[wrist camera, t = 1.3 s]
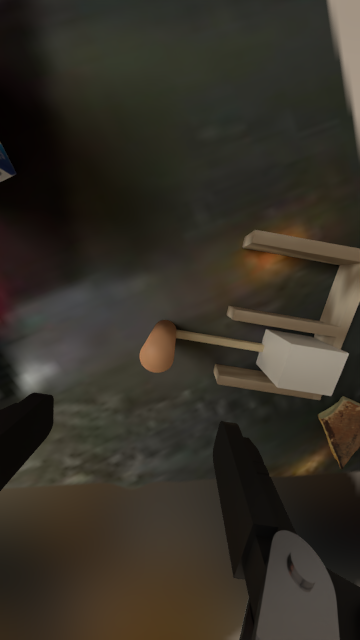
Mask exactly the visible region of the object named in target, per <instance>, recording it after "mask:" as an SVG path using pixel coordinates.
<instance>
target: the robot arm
mask: <svg viewBox="0 0 360 640" xmlns="http://www.w3.org/2000/svg"><path fill="white" fill-rule="evenodd" d="M53 403H54V399H53V396H52V395H48V394H41V393H32V394H30V395H29V396H27V397H26V398H25V399H23V400H22V401H21V402H19V403H14V404H12V405H10V406H8V407H6V408H3V409H1V410H0V491H1V490H2V488H3V487H4V486H5V485H6V484H7V483H8V482H9V480H10V479H11V478H12V477H13V476H14V475H15V473H16V472H17V471H18V470H19V469H20V468H21V467H22V465H23V464H24V463H25V462H26V461H27V460H28V458H29V457H30V456H31V455H32V454H33V453H34V452H35V450H36V449H37V448H38V447H39V446H40V445H41V443H42V442H43V441H44V440H45V439H46V438H47V436H48V435H49V433H50V431H51V429H52V426H53ZM213 463H214V469H215V475H216V480H217V486H218V492H219V497H220V503H221V509H222V514H223V520H224V526H225V532H226V537H227V543H228V549H229V554H230V560H231V565H232V571H233V577H234V578H237V579H245V581H246V585H247V590H248V595H249V599H248V603H247V606H246V611H245V616H244V620H243V625H242V629H241V634H240V639H239V640H360V587H359V586H357V585H355V584H353V583H351V582H350V581H348V580H346V579H344V578H343V577H341V576H339V575H337V574H335V573H334V572H332V571H331V570H329V569H328V568H326V567H325V566H324V564H323V563H322V561H321V560H320V558H319V557H318V555H317V554H316V553H315V551H314V550H313V549H312V548H311V547H310V546H309V545H308V544H307V543H306V542H305V541H304V540H303V539H302V538H300V537H299V536H298V535H297V534H296V532H295V530H294V528H293V526H292V523H291V521H290V519H289V517H288V515H287V512H286V510H285V508H284V506H283V504H282V501H281V499H280V497H279V495H278V493H277V490H276V488H275V486H274V484H273V481H272V479H271V477H269V473H268V470H267V468H266V466H265V465H264V462H263V459H262V457H261V455H260V453H259V451H258V449H257V448H256V446H255V445H254V444H253V443H252V442H251V440H250V439H249V438H244V437H243V436H242V433H241V431H240V428H239V426H238V424H236V423H229V422H223V421H221V422H220V424H219V428H218V432H217V436H216V439H215V443H214V448H213Z"/></svg>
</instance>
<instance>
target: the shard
mask: <svg viewBox="0 0 360 640" xmlns="http://www.w3.org/2000/svg"><path fill="white" fill-rule="evenodd" d="M318 418H319V420H320V422H321V424H322V426H323V428H324V431H325V433H326V435H327V439H328V443H329V446H330V449H331V451H332V454H333V455H334V457H335V459H336V460H337V461H338V462H339V466H340V468H341V469H343V467H344V465H345V464H346V463H347V462H348V461H349V459H350V457H351V456H352V455H353V453H354V452H355V451H356V450H357V449H358V448H359V447H360V403H357V402H355V401H353V400H351V399H348V398H346V397H344V396H342V397H341V399H340V400H339V401H338V403H336V404H334V405H333V406H332V407H330V408H329V409H327V410H325V411H323V412H322V413H320V414H318Z"/></svg>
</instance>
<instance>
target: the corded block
mask: <svg viewBox="0 0 360 640" xmlns="http://www.w3.org/2000/svg"><path fill="white" fill-rule="evenodd" d="M176 338H179V339H185V340H191V341H197V342H204V343H210V344H216V345H222V346H228V347H234V348H240V349H247V350H253V351H259V355H258V358H257V362H256V364H257V365H258V366H259V367H260V369H261V370H262V371H263V372H264V373H265V374H266V375H267V376H268V378H269V379H270V380H271V381H272V382H273V383H274V384H275V386H276V387H277V388H283V389H290V390H296V391H302V392H309V393H315V394H321V395H328V396H332V394H333V391H334V389H335V386H336V384H337V382H338V379H339V377H340V374H341V372H342V370H343V367H344V365H345V362H346V360H347V358H348V355H349V353H347V352H345V351H342V350H340V349H338V348H335V347H333V346H331V345H329V344H326V343H324V342H322V341H320V340H317V339H315V338H313V337H310V336H305V335H299V334H293V333H287V332H281V331H275V330H269V329H266V331H265V334H264V337H263V341H262V343H255V342H249V341H243V340H237V339H231V338H225V337H219V336H213V335H207V334H201V333H195V332H189V331H183V330H176V326H175V325H174V324H173V323H172V322H171V321H169V320H162V321H159V322H158V323H157V324H156V325H155V327H154V329H153V330H152V332H151V334H150V335H149V337H148V339H147V340H146V342H145V344H144V346H143V347H142V349H141V351H140V361H141V363H142V365H143V366H144V367H145V368H146V369H147V370H149V371H151V372H156V373H159V372H163V371H166V370H167V369H169V368H170V367H171V365H172V363H173V360H174V351H175V342H176Z"/></svg>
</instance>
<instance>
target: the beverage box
mask: <svg viewBox="0 0 360 640" xmlns="http://www.w3.org/2000/svg"><path fill="white" fill-rule="evenodd" d="M14 175H16V172H15V170H14V168H13V166H12V164H11V162H10V160H9V158H8V156H7V154H6V152H5V150H4V148H3V146H2V144H1V142H0V182H2V181H4V180H6V179H8V178H10V177H12V176H14Z"/></svg>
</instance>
